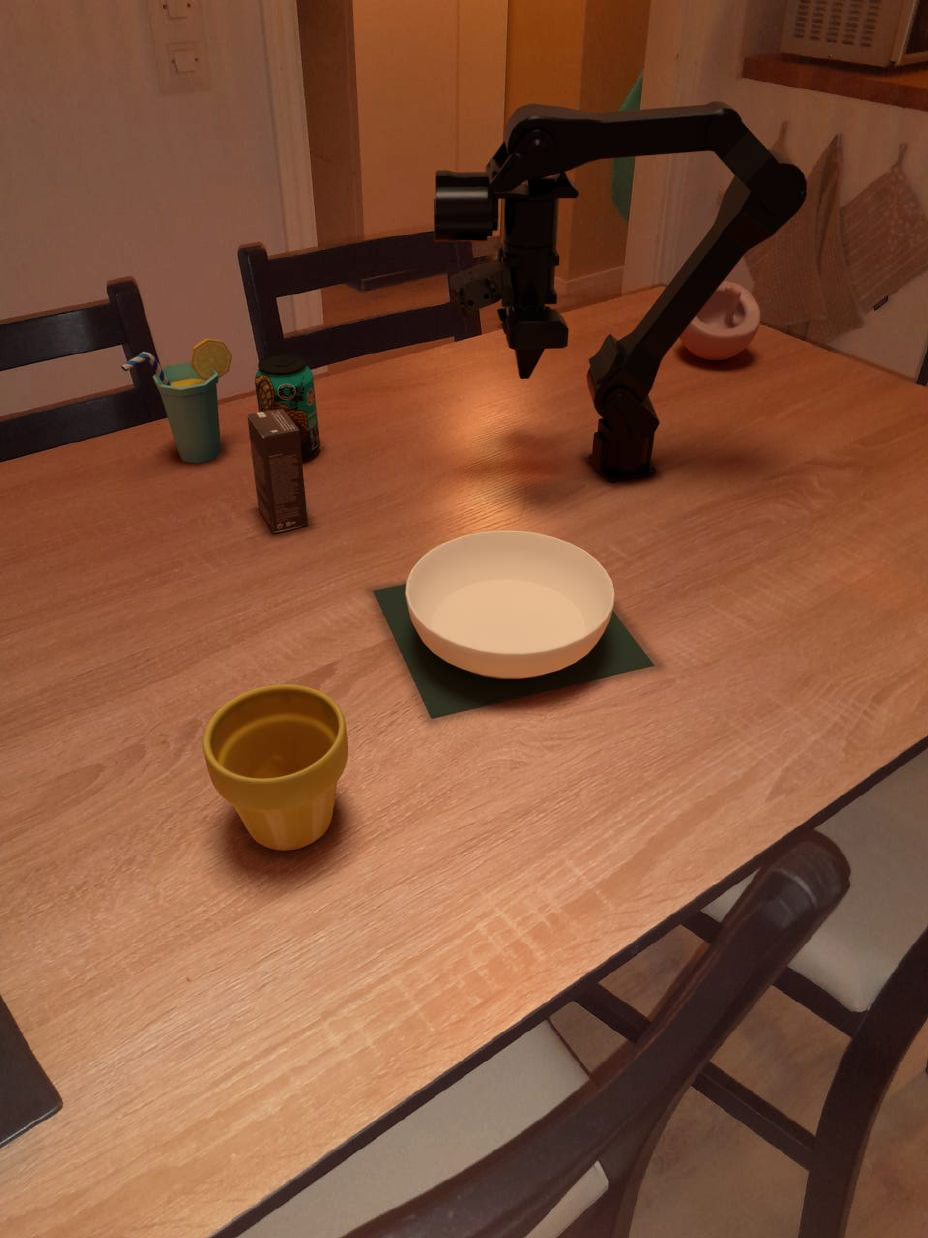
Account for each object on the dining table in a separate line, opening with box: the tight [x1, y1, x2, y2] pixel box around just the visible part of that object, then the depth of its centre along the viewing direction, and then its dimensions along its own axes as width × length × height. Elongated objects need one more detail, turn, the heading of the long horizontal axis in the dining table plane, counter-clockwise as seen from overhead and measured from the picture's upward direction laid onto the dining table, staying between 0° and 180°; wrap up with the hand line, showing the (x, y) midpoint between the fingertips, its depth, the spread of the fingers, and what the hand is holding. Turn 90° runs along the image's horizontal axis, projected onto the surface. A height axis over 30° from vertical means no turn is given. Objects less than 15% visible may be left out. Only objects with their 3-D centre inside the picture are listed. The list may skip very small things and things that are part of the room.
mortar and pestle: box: [679, 280, 762, 361], centre depth 143 cm, size 12×12×11 cm
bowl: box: [405, 529, 616, 679], centre depth 92 cm, size 20×20×6 cm
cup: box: [120, 337, 233, 465], centre depth 118 cm, size 14×8×15 cm, turn 139°
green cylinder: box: [254, 352, 321, 462], centre depth 119 cm, size 7×7×12 cm
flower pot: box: [202, 683, 349, 852], centre depth 73 cm, size 10×10×10 cm
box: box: [247, 409, 309, 534], centre depth 107 cm, size 6×4×12 cm
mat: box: [372, 583, 655, 720], centre depth 95 cm, size 22×20×1 cm
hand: (524, 377), depth 113 cm, fingers closed
